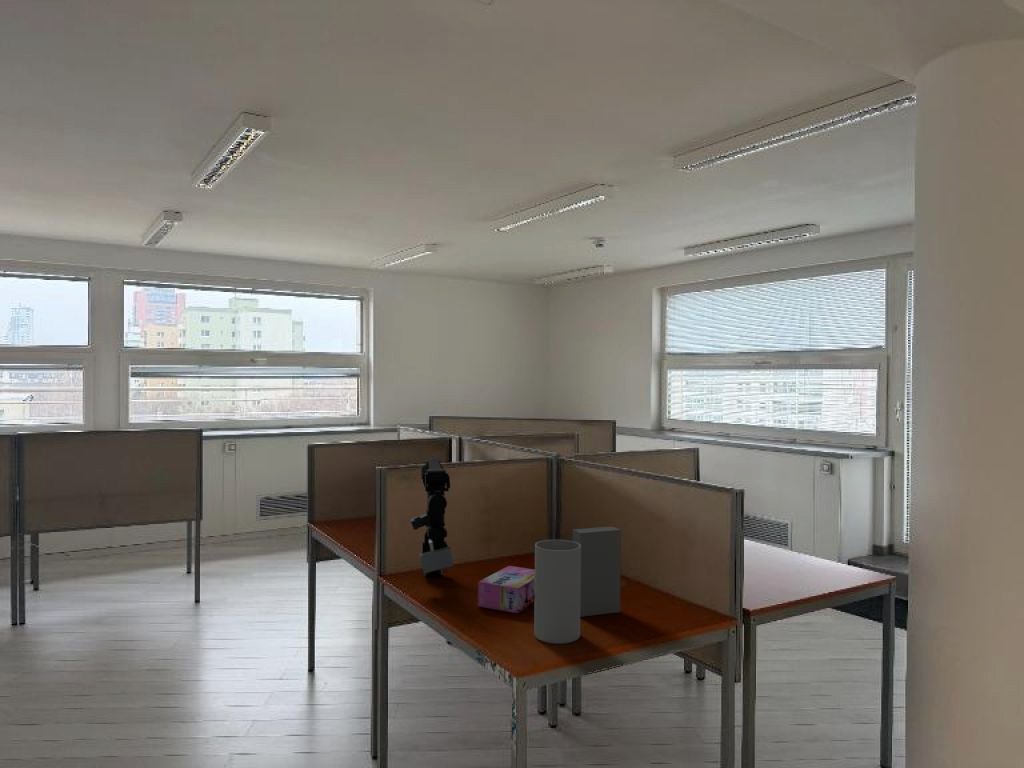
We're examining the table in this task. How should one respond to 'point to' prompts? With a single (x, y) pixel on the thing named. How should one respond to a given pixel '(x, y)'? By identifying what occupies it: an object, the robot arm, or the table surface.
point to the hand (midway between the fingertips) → (435, 552)
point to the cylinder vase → (557, 591)
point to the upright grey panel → (599, 570)
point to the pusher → (436, 559)
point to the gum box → (507, 589)
